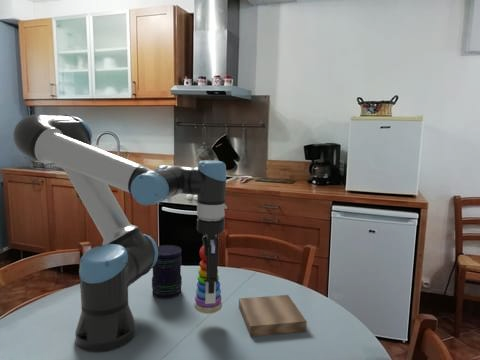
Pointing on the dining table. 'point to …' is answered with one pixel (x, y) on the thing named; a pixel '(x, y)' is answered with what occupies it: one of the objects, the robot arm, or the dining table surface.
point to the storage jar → (167, 272)
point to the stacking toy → (201, 289)
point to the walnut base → (271, 315)
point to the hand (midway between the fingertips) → (208, 295)
